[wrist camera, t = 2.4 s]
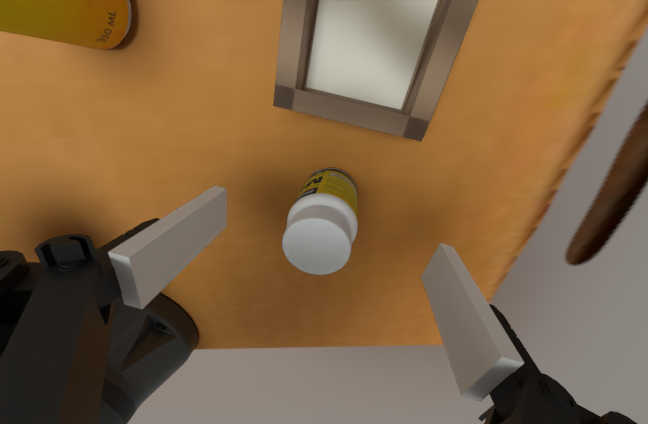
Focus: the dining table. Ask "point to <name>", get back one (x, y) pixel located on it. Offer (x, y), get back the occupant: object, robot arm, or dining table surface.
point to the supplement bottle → (322, 223)
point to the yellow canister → (68, 20)
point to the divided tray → (369, 60)
